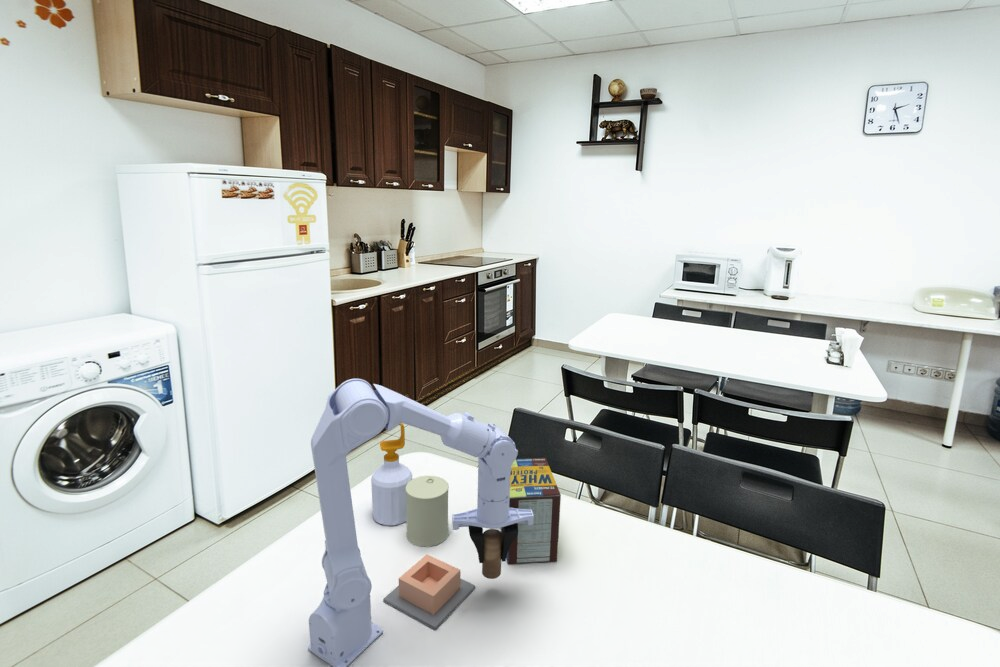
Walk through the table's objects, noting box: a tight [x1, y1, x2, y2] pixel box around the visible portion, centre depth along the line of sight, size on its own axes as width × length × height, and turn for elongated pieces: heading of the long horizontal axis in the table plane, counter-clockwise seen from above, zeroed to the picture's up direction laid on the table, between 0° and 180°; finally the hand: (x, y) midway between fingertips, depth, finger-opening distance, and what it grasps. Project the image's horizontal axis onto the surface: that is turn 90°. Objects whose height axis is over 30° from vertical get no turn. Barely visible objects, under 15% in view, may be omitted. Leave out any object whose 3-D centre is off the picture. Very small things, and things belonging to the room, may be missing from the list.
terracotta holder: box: [382, 553, 476, 631], centre depth 99 cm, size 12×12×4 cm
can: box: [405, 475, 450, 548], centre depth 115 cm, size 9×9×12 cm
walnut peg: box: [481, 528, 502, 580], centre depth 98 cm, size 4×4×8 cm
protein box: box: [506, 457, 562, 565], centre depth 114 cm, size 10×15×16 cm
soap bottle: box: [370, 423, 413, 526], centre depth 120 cm, size 9×9×25 cm
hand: (491, 558), depth 99 cm, fingers closed on walnut peg, 3 cm apart
